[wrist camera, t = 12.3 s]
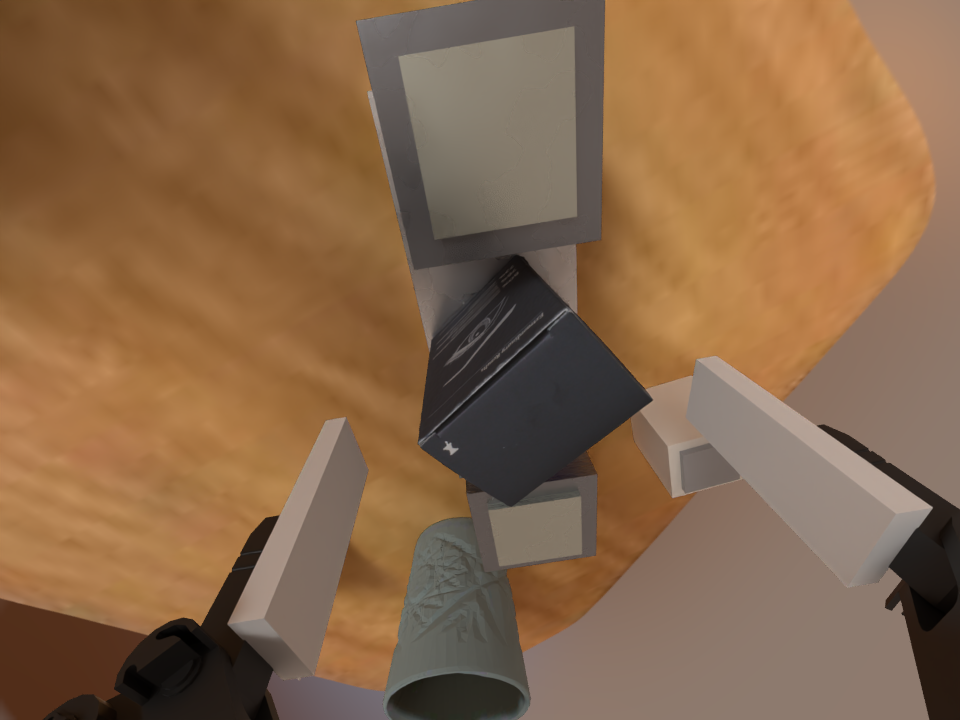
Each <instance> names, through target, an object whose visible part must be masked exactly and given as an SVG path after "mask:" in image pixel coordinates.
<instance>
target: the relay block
mask: <svg viewBox="0 0 960 720" xmlns="http://www.w3.org/2000/svg"><path fill="white" fill-rule="evenodd" d="M692 379H693V376H687V377H684V378H681V379H677V380H674V381H671V382H667V383H664V384H661V385H657V386H654V387H650V388H647V389H645V390H646V391H647V392H648V393H649V395H650V396H651V397H652V399H653V401H652V402H650V403H649V404H648V405H646V406H645V407H644V408H642V409H641V410H640V411H639V412H637V413H636V414H634V415H633V416H632V417H630V418H631V425H632V431H633V438H634V442H635V443H636V445H637V446H638V448H639V449H640V451H641V452H642V454H643V455H644V457H645V458H646V460H647V461H648V463H649V464H650V466H651V467H652V469H653V470H654V472H655V473H656V475H657V476H658V478H659V479H660V481H661V482H662V483H663V485H664V486H665V488H666V489H667V491H668V492H669V494H670V495H671V497H672V498H675V497H679V496H683V495H687V494H690V493H694V492H698V491H702V490H705V489H709V488H713V487H717V486H720V485H724V484H728V483H732V482H735V481H739V480H743V479H744V478H743V477H742V476H741V475H740V474H739V473H738V472H737V471H736V470H735V469H734V468H733V467H732V466H731V465H730V464H729V463H728V462H727V461H726V460H725V458H724V457H723V456H722V455H721V454H720V453H719V452H718V451H717V450H716V449H715V448H714V447H713V446H712V445H711V444H710V443H709V442H708V441H707V440H706V438H705V437H704V436H703V435H702V434H701V433H700V432H699V431H698V430H697V429H696V428H695V427H694V426H693V425H692V424H691V423H690V422H689V421H688V420H687V418H686V412H687V407H688V401H689V396H690V390H691V385H692Z"/></svg>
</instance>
